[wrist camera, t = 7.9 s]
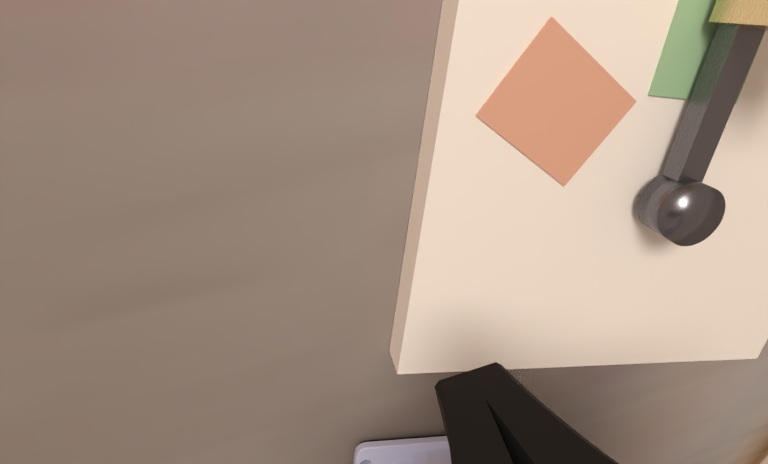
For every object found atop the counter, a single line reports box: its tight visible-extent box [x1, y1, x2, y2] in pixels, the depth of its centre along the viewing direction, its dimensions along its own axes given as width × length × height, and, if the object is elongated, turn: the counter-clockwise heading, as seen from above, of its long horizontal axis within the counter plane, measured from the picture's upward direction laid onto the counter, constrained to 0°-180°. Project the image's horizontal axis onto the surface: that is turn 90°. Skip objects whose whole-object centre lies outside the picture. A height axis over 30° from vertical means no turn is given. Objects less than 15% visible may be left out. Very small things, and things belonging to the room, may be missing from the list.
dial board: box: [389, 0, 768, 374], centre depth 19 cm, size 16×18×2 cm
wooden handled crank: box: [636, 0, 768, 246], centre depth 15 cm, size 9×2×5 cm, turn 172°
